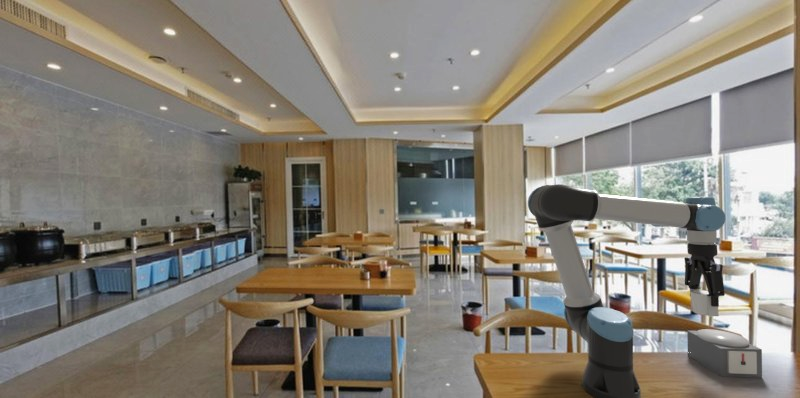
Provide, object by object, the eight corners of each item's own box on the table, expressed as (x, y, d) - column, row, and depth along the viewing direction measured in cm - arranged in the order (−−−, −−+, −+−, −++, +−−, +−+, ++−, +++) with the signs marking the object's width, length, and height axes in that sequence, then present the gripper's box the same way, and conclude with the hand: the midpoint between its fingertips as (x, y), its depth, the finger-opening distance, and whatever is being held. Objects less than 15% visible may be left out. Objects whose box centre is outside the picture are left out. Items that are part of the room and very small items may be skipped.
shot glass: (693, 314, 114) (693, 293, 114) (688, 308, 120) (687, 288, 120) (721, 317, 111) (720, 295, 111) (714, 310, 117) (713, 290, 117)
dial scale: (721, 377, 111) (721, 346, 111) (686, 354, 127) (685, 327, 127) (766, 379, 110) (766, 347, 110) (725, 356, 126) (724, 328, 125)
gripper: (739, 247, 105) (742, 322, 105) (692, 239, 125) (695, 302, 125) (712, 247, 106) (714, 322, 106) (670, 239, 126) (672, 302, 126)
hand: (704, 311), depth 115 cm, fingers closed on shot glass, 7 cm apart
